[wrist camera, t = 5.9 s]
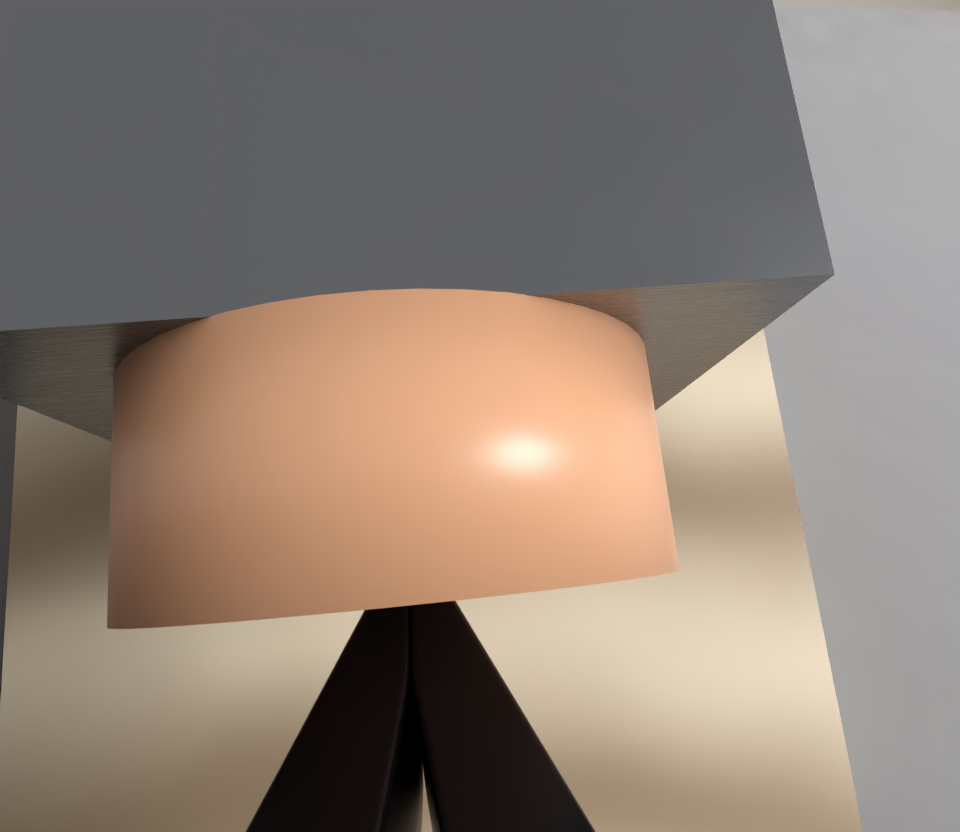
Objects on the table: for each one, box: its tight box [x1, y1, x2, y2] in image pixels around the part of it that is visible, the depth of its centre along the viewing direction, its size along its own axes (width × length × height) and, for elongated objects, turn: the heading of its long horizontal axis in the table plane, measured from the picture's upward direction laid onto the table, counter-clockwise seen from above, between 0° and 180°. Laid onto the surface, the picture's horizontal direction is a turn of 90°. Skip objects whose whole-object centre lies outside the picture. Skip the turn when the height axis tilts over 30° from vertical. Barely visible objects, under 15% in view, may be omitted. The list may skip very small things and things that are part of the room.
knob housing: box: [0, 0, 834, 442], centre depth 10 cm, size 6×8×9 cm
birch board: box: [0, 329, 863, 832], centre depth 15 cm, size 15×16×2 cm
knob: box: [107, 289, 680, 629], centre depth 9 cm, size 9×6×6 cm, turn 5°
